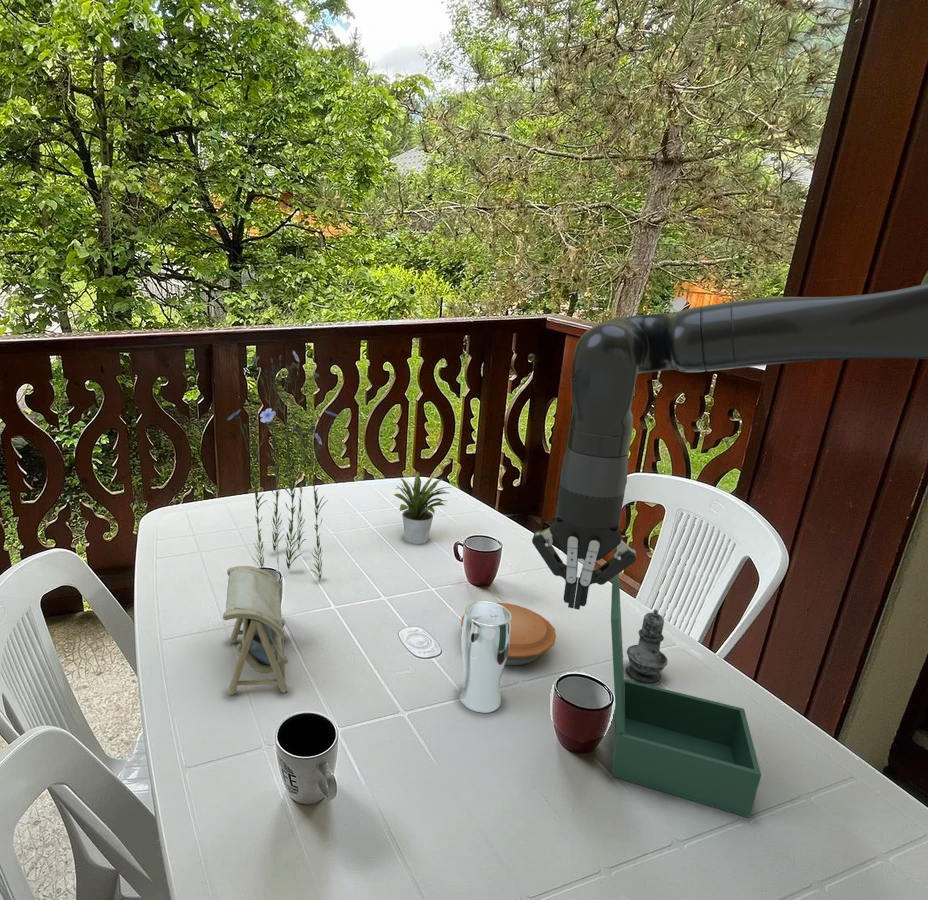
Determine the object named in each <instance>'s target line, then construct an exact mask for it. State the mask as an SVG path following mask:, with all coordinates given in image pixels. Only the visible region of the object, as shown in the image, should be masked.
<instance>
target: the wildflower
mask: <svg viewBox="0 0 928 900" xmlns="http://www.w3.org/2000/svg"><path fill="white" fill-rule="evenodd" d="M292 355H293V356H294V359H295V361H296V362H298V363H297V364H296V363H295V362H291V363H290V364H288V365H285V370H286V371H287V374H284V376H283V375H282V377H281V378H280V371H281V366H282V363H279V366H278V365H274V364H273V363H274V358H273V357H270V363H271V369H272V370H270V371H268V370H267V369H265V371H263V369H262V367H261V366H260V364H259V363H257V365H258V366H257V365H256V363H255V362H258V360H259V358H260V356H256V358H253V359H252V360H250V362H248V366H251V369H253V370H255V371H256V372H257V374H258V376H259V379H260V383H261V385H262V387H263V389H264V393H265V395H264V399H265V401H266V403H268V404H269V406H271V402H272V404H273V407H272V408H271V407H269V408H266V409H265V410H264V411H261V413H260V415H259V414H258V410H256V411H255V416H256V417H255V418H256V421H255V420H253V419H251V418H249V422H250V424H251V425H249V424H246V423H244V424H243V425H241V424H242V420H241V418H240V415H239V416H238V414H240V413H241V411H242V409H237V411H235V412H233V413H231V415H229V416H228V417H227V418H226V420H227V421H230V420H232V419H233V418H234V419H236V420H237V421H239V423H238V425H239V426H240V430H241V434H242V435H243V438H244V441H245V444H244V446H245V449H246V451H247V452H248V453H249V457H250V458H252V454H251V450H250V449H249V448H251V442H252V443H253V447H256V443H257V439H258V437H259V434H260V432H258V433H257V434H256V436H252V437H251V435H252V430H251V429H253V431H255V429H254V428H253V427H254V426H255V427H257V425H258V423H254V422H258V420H259V419H258V415H259V417H260V422H261V423H263V424H265V425H264V426H265V428H264V432H263V429H262V428H261V436H262V438H261V442H260V444H259V446H258V449H257V452H255V455H254V457H253V461H252V459H250V462H251V467H254V466H255V464H256V462H257V460H258V459H259V458H260V456H259V455H260V453H261V451H260V448H261V446H262V445H263V443H264V442H265V441H266V439H264V438H265V437H266V436H267V432H268V431H269V428H270V430H271V436H272V437H271V438H272V448H273V450H272V449H271V448H269V450H270V453H271V456H272V457H271V456H270V454H269V453H268V452H265V453H266V455H267V456H268V458H269V461H270V463H271V464H272V466H273V467H272V466H271V465H268V467H269V468H270V469H271V470H272V472H273V473H274V476H275V477H274V476H273V474H272V473H270V472H267V471H265V474H268V475H270V476H271V478H273V479H274V481H275V493H274V490H273V488H272V487H271V492H272V494H273V495H274V496H275V502H274V501H273V504H274V507H275V510H274V512H273V513H274V516H272V520H271V521H270V522H271V524H272V529H273V530H272V531H271V532H272V549H273V551H274V552H276V553H279V542H280V541H281V540H282V538H283V537H285V534H282V535H281V537H280V538H279V535H280V533H281V532H282V529H281V530H279V529H280V526H281V525H282V522H283V519H280V517H281V514H282V512H280V513H279V515H278V512H279V508H278V505H279V496H280V492H281V489H279V487H281V488H283V490H285V491H286V492H287V493H288V495H289V496H290V497H291V498H290V499H291V507H290V508H289V507H288V504H287V502H285V507H286V508H287V510H288V511H289V512H290V513H291V519H290V518H289V517H287V520H288V521H289V522H288V532H289V533H288V532H286V538H284V540H285V542H286V546H287V547H285V555H286V558H285V561H286V568H287V569H288V570H290V567H291V565H292V564H293V563H294V561H295V560H296V559H297V558H298V557H300V556H301V555H303V553H302V552H301V553H299V554H298V555H296V556H295V557H294V558H293V556H294V554H295V552H296V551H298V550H300V548H301V546H302V544H303V543H304V542H305V541H306V540H307V538H304V539H302V536H303V534H304V533H305V531H302V530H303V528H304V524H305V521H306V518H304V519H303V516H304V512H302V498H301V497H299V495H300V496H302V493H303V490H304V488H303V487H304V484H306V483H307V481H308V479H309V477H308V475H309V474H308V473H309V472H310V471H311V473H312V477H311V478H310V481H311V482H310V483H311V484H312V486H313V494H314V495H313V498H314V506H315V507H314V514H315V519H316V523H315V524H314V526H313V528H314V529H315V532H316V533H315V534H316V548H317V549H316V548H315V547H313V549H314V553H315V554H314V553H313V552H312V551H310V554H311V555H312V557H313V560H314V561H315V562H316V563H312V565H313V566H314V567H315V568H316V570H317V572H318V573H317V572H316V570H313V569H310V572H311V571H312V572H313V573H315V574H316V575H317V577H318V579H319V582H321V579H322V574H323V569H322V567H323V566H322V565H323V560H322V555H323V549H322V546H321V541H320V535H321V533H319V532H318V529H319V528H320V526H321V524H318V515H319V513H320V511H321V509H322V508H323V506H324V505H325V504H326V503H327V502H328V501H329V500H328V499H327V500H325V502H323V503H322V500H323V499H324V497H325V494H324V495H323V496H322V498H321V499H320V500H319V497H318V496H317V493H318V489H319V487H317V488H316V485H315V484H316V482H317V481H318V479H319V477H317V478H315V476H314V475H315V474H314V473H315V471H316V469H317V468H318V466H319V463H320V462H321V458H322V455H321V452H322V449H324V448H325V445H326V443H327V442H328V441H329V439H327V438H328V436H329V435H330V431H331V428H332V427H333V425H334V423H335V420H334V419H332V418H333V417H338V418H340V415H339V414H337V413H335V412H332V411H330V410H329V411H328V410H325V409H324V410H323V412H325V413H326V414H328V415H330V416H331V417H330V419H331V420H330V421H329V423H328V424H327V430H326V433H325V431H323V438H324V440H323V442H322V439H321V436H322V435H319V433H318V432H319V431H320V428H316V426H315V425H313V420H314V419H310V420H309V422H310V424H311V426H308V427H307V432H305V433H303V429H302V428H301V427H302V426H301V422H302V418H301V417H299V418H298V422H299V425H296V422H294V423H293V425H294V427H293V428H292V434H291V435H290V434H289V433H288V431H289V430H288V428H289V426H290V425H291V424H292V422H293V421H296V417H297V413H298V412H299V411H300V408H299V409H298V407H299V405H300V403H301V402H303V401H304V400H305V398H306V397H308V396H310V394H306V393H307V392H308V391H309V390H310V388H311V387H312V385H313V383H314V381H315V380H316V379H317V378H319V377H320V375H319V374H318V373H317V372H313V374H312V375H311V377H309V378H308V379H309V382H308V383H307V386H305V383H304V382H303V383H302V384H303V395H302V397H301V399H300V401H299V403H298V404H297V406H296V408H295V410H294V411H291V412H290V417H289V420H288V423H287V422H286V414H285V412H286V409H285V408H286V407H285V406H286V401H287V400H288V398H289V401H290V404H291V409H293V406H294V402H295V397H296V395H297V393H298V391H299V390H300V387H298V388H297V381H298V379H299V375H300V373H299V369H300V358H299V356H298V354H297V353H296V351H295V350H292ZM278 357H279V358H278V359H279V361H281V360H282V354H280V355H279V356H278ZM276 366H277V367H276ZM295 368H296V369H297V370H296V375H295V374H293V375H292V373H293V370H294V369H295ZM258 371H259V372H258ZM262 371H263V372H262ZM276 373H277V374H276ZM262 374H263V376H264V377H265V378H266V383H267V385H269V381H270V388H269V386H267V390H268V391H269V392H268V393H270V395H269V397H268V394H267V390H266V387H265V380H264V378H263V376H262ZM277 376H278V377H277ZM283 377H284V379H283ZM293 377H294V378H293ZM296 377H297V378H296ZM268 379H269V380H268ZM282 379H283V380H282ZM292 379H294V382H295V383H294V384H295V386H294V387H295V388H294V390H293V389H292V390H291V391H292V394H293V399H292V398H291V393H288V390H286V391H285V396H284V394H283V391H284V390H285V389H288V386H289V384H290V385H291V386H293V383H292ZM312 379H313V380H312ZM311 381H312V382H311ZM310 383H311V384H310ZM283 384H284V386H283V388H282V385H283ZM309 385H310V386H309ZM279 386H280V388H279ZM296 388H297V390H296ZM280 390H281V392H280ZM272 391H273V392H272ZM279 392H280V395H279ZM287 394H288V395H287ZM271 395H272V397H275V396H276V398H272V400H271ZM281 399H282V400H283V408H282V404H281ZM278 409H279V410H280V412H281V413H282V414H283V418H284V423H285V427H286V432H283V433H284V434H283V437H284V439H285V441H286V450H287V451H286V452H287V454H286V458H287V461H288V464H287V462H286V461H285V460H283V462H284V465H285V468H286V470H285V468H284V467H283V466H282V465H281V464H280V463H279V456H280V454H279V447H278V446H277V431H275V434H274V428H275V430H277V428H278V427H277V424H278V420H279V416H278V415H279V413H278V412H279V410H278ZM247 413H248V417H251V415H252V413H251V412H250V411H248V412H247ZM320 419H321V415H320V416H317V420H318V421H320ZM320 425H321V422H318V424H317V426H320ZM243 427H244V428H245V429H244V428H243ZM248 427H249V435H248V434H246V435H245V431H246V432H248V430H247V428H248ZM315 430H317V432H315ZM295 432H296V434H297V435H298V437H299V438H300V439H299V441H300V444H301V445H302V446H303V448H304V450H303V448H301V445H298V442H299V441H294V443H295V446H296V448H299V450H296V452H297V453H296V454H297V455H299V453H301V454H303V452H304V453H305V454H304V455H303V461H302V462H301V469H303V467H304V465H305V464H306V460H307V461H308V462H309V463H310V465H309V468H308V471H307V474H306V475H305V478H304V480H303V483H302V484H301V485H299V480H298V479H296V477H295V475H294V474H295V471H296V469H297V473H298V475H299V478H300V479H303V474H301V471H300V470H301V469H299V467H298V466H299V463H297V465H298V466H297V465H296V464H295V461H294V460H293V461H292V458H293V455H292V450H291V449H292V447H293V444H291V446H290V447H289V440H290V438H292V437H293V436H294V433H295ZM313 435H314V437H315V439H316V440H315V441H316V445H315V444H313ZM246 436H247V438H249V437H251V438H250V439H246ZM310 436H311V437H310ZM254 438H255V440H254ZM309 438H311V441H310V445H309ZM293 439H294V440H296V437H293ZM305 439H306V440H305ZM246 440H248V442H247V441H246ZM248 444H249V445H248ZM320 445H321V446H322V447H321V446H320ZM310 446H311V447H310ZM307 448H308V449H309V454H308V451H307ZM313 448H314V453H313V455H312V450H313ZM318 452H319V454H318ZM317 454H318V457H317ZM315 460H316V461H315ZM291 462H292V463H291ZM313 462H314V465H312V464H313ZM280 467H281V469H282V471H283V474H284V475H285V477H286V478H287V480H288V481H287V480H286V479H284V478H281V479H282V480H283V481H284V482H285V483H286V485H287V486H288V488H289V491H290V492H289V491H288V489H287V488H286V487H284V486H283V485H281V484H279V480H280V474H279V471H280ZM313 467H314V468H313ZM255 473H256V474H255ZM258 473H259V468H257V470H256V472H255V471H254V470H253V469H251V470H250V474H251V477H252V479H253V487H254V497H255V509H256V516H255V522H256V525H257V538H255V541H256V543H255V542H253V544H254V547H255V551H256V552H257V554H256V553H254V555H255V556H256V558H257V561H258V562H259V563H258V562H257V561H256V558H255V559H254V558H253V560H254V561H255V563H256V564H257V566H258V568H260V569H261V568H262V569H263V568H264V569H265V566H264V563H265V556H264V550H265V548H264V542H263V541H262V535H261V534H262V533H261V531H262V527H261V528H259V527H260V526H259V525H260V522H261V521H262V520H263V517H261V519H260V518H259V510H260V507H261V506H262V505H263V504H264V503H265V502H268V501H269V500H268V499H267V500H264V501H262V502H261V503H260V501H261V499H262V497H263V496H264V495H265V493H263V494H261V495H260V496H259V491H258V489H257V485H258V482H256V480H255V479H256V476H257V474H258ZM319 474H320V473H319V472H318V473H317V475H319ZM296 481H297V485H298V489H299V492H300V494H299V495H297V496H298V501H299V502H298V512H297V518H296V519H297V521H298V522H297V526H296V528H297V530H295V532H294V534H293V530H294V514H295V512H296V510H297V508H296V507H297V505H294V499H295V496H296V495H295V494H296V489H295V486H296ZM258 497H259V498H258ZM320 504H322V505H321V506H320ZM319 507H320V508H319ZM302 521H303V522H302ZM322 521H323V518H321V519H320V523H322ZM318 533H319V534H318ZM296 534H297V538H296ZM295 538H296V539H295ZM257 539H258V540H257ZM301 539H302V541H301ZM296 544H297V548H296V549H294V548H295V546H296ZM262 549H263V550H262ZM293 549H294V550H293ZM315 555H316V556H315ZM275 558H276V561H277V562H276V563H279V554H277V557H275ZM292 558H293V560H292ZM291 560H292V561H291ZM316 564H317V565H316ZM279 566H280V565H277V569H279V568H280V567H279Z"/></svg>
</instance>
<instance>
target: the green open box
mask: <svg viewBox="0 0 928 900" xmlns="http://www.w3.org/2000/svg"><path fill="white" fill-rule="evenodd" d="M612 719H613V725H612V765H611V776H612V778H616V779H618V780H619V779H620V780H623V781H626V782H629V783H633V784H635V785H639V786H642V787H645V788H650V789H652V790H656V791H658V792H663V793H666V794H669V795H672V796H675V797H678V798H682V799H685V800H688V801H692V802H696V803H698V804H701V805H705V806H708V807H711V808H715V809H718V810H722V811H724V812H729V813H731V814H734V815H738V816H741V817H744V818H749V819H750V817H751V814H752V809H753V806H754V802H755V799H756V795H757V791H758V787H759V784H760V780H761V777H762V772H761V769H760V765H759V761H758V757H757V754H756V753H757V752H756V749H755V746H754V742H753V737H752V734H751V730H750V726H749V722H748V718H747V715H746V710H745V708H742V707H739V706H735V705H730V704H726V703H723V702H719V701H715V700H711V699H706V698H702V697H698V696H694V695H691V694H687V693H683V692H678V691H673V690H670V689H666V688H662V687H659V686H655V685H654V686H650V685H646V684H642V683H638V682H635V681H634V680H631V679H626V678H624V732H617V728H616V709H615V708H614V711H613V718H612Z"/></svg>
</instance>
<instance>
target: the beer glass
mask: <svg viewBox="0 0 928 900" xmlns="http://www.w3.org/2000/svg"><path fill="white" fill-rule="evenodd" d="M498 603H499V602H494V601H489V600H476V601H473V602H470V603H468V604H467V605H466V606H465V608H464V614H465V615H464V614H463V616H464V620H463V626H462V625H461V638H460V647H461V648H460V649H461V658H462V659H461V660H462V665H463V678H462V679H463V680H462V684H461V687H460V690H459V700H460V702H461V704H462V705H463V706H465V707H466V708H467V709H469V710H470V711H473V712H476V713H481V714H488V713H493V712H495V711H497V710H498V709H499V708H500V706H501V703H502V698H501V697H502V696H501V688H500V687H501V679H502V675H503V672H504V669H505V667H506V665H507V664H506V661H507V657H508V653H509V649H510V642H511V618H512V615H511V613H510V611H509V610H508V609H507V608H506V607H504V606H502V605H500V604H498Z"/></svg>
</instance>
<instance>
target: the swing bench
mask: <svg viewBox="0 0 928 900" xmlns="http://www.w3.org/2000/svg"><path fill="white" fill-rule="evenodd" d="M226 574H227V576H228V578H227V589H226V602H225V612H223V614H222V619H223V620H224V621H229V620H235V619H236V620H235V623H234V627H233V630H232V633H231V635H230V639H229V642H230V643H231V644H236V642H237V640H238V637H239V636H242V642H240V643H238V644H237V651H238V652H239V656H238V659H237V663H236V665H235V668H234V671H233V674H232V678H231V680H230V684H229V687H228V690H227V693H228V695H229V696H234V695H235V694H236V690H237V687H238V686H239V687H241V686H269V685H277V686H278V687H279V690H280V692H281V693H282V694H285V693H287V692H288V686H287V683H286V665H287V664H288V663H289V659H288V656H286V655H285V641H286V639H287V636H286V633H285V631H284V629H283V628H284V627H285V625H286V621H285V619H283V617H282V607H281V606H282V605H281V604H282V603H281V591H282V586H281V583H280V582H279V581H278V580H277V578H275V577H274V575H272V574H271V573H269V572H268V571H266V570H265V569H264V570H263V568H262V569H261V567H260V568H259V567H255V566H251V565H237V566H232V567H228V569H227V570H226ZM242 625H243V626H242ZM241 627H242V630H241ZM246 662H247V663H248V665H249V666H250V668H251V669H253V670H254V671H255V672H257V673H259V674H262V675H263V674H265V675H269V674H271V673H273V675H274V677H275V678H273V679H249V680H248V679H246V680H244V679H243V680H240V678H241V676H242V672H243V669H244V666H245V664H246Z"/></svg>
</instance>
